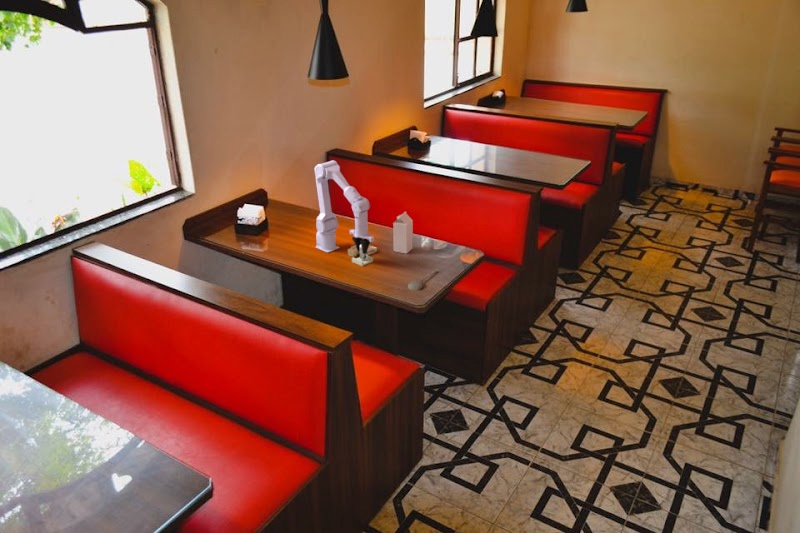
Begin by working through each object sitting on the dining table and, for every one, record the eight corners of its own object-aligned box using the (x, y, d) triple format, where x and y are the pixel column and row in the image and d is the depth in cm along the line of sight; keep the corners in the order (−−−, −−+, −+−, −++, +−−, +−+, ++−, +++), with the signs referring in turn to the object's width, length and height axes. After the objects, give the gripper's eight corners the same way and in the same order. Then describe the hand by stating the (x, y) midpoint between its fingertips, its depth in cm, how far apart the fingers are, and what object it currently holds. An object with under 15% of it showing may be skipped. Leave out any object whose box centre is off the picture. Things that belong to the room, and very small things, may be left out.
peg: (358, 258, 295) (357, 244, 292) (362, 255, 298) (362, 242, 295) (363, 259, 294) (363, 245, 291) (367, 257, 296) (367, 243, 293)
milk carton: (412, 248, 310) (412, 212, 302) (406, 254, 304) (406, 217, 296) (399, 246, 313) (399, 210, 305) (393, 251, 307) (393, 215, 299)
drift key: (347, 255, 303) (347, 249, 302) (357, 251, 307) (357, 245, 306) (353, 257, 301) (353, 251, 299) (363, 253, 305) (363, 247, 303)
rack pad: (351, 261, 296) (351, 257, 295) (362, 257, 301) (362, 253, 300) (362, 266, 292) (362, 262, 291) (372, 261, 296) (372, 257, 296)
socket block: (351, 250, 308) (351, 246, 307) (363, 245, 313) (362, 242, 312) (365, 256, 302) (365, 252, 301) (377, 251, 307) (377, 247, 306)
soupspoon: (404, 290, 272) (417, 294, 269) (404, 283, 271) (417, 288, 268) (431, 270, 288) (443, 274, 285) (431, 263, 287) (444, 268, 284)
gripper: (344, 223, 290) (345, 250, 296) (365, 231, 281) (366, 258, 287) (355, 219, 295) (356, 245, 301) (377, 227, 286) (377, 254, 292)
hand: (362, 251), depth 294 cm, fingers closed on peg, 3 cm apart
